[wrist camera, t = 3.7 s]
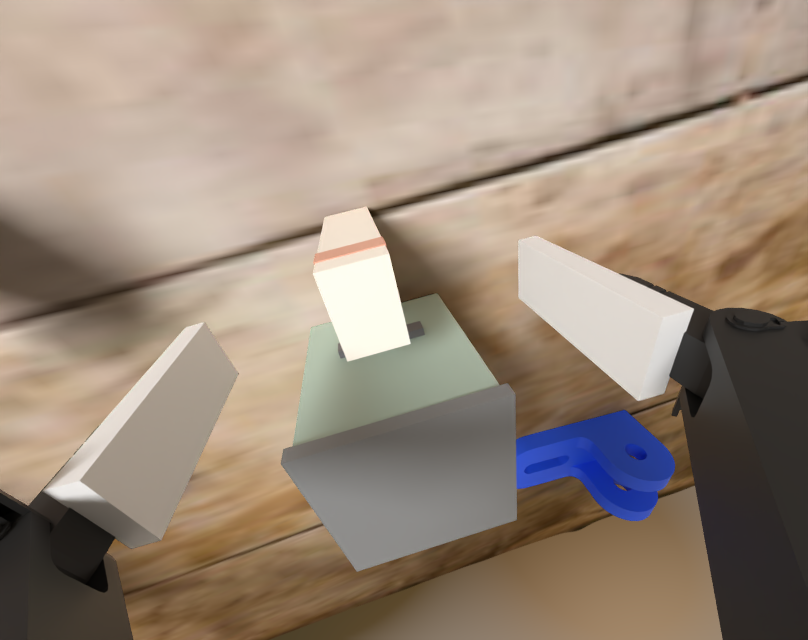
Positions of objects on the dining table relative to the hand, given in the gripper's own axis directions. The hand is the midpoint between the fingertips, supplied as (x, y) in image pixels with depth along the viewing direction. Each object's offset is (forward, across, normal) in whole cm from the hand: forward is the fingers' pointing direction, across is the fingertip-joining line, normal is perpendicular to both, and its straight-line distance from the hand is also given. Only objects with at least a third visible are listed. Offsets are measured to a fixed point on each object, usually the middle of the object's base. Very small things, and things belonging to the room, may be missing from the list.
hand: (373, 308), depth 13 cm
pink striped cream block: (+11, 0, -5) cm, 12 cm away
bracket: (+12, +18, -34) cm, 40 cm away
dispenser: (+11, 0, -12) cm, 16 cm away
